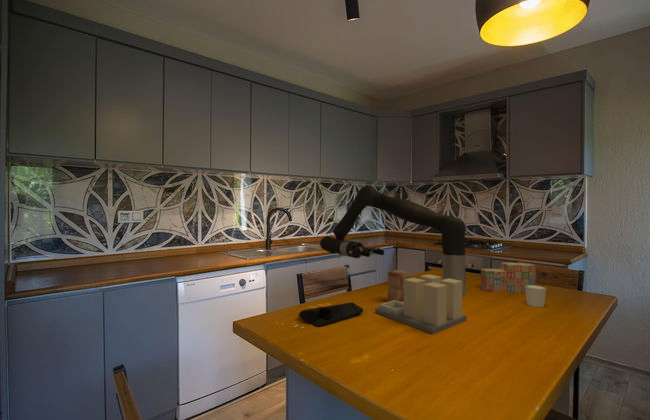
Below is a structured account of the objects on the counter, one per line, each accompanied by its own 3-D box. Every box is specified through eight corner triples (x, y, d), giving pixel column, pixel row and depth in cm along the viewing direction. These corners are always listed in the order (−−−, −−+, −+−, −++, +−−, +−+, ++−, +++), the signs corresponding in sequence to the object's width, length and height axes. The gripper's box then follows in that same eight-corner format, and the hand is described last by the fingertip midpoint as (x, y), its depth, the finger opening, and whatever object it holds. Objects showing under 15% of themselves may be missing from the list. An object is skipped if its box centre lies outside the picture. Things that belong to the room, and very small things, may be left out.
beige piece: (527, 306, 123) (527, 288, 123) (523, 301, 130) (523, 284, 130) (548, 308, 121) (548, 289, 121) (543, 303, 127) (543, 285, 127)
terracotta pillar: (396, 299, 133) (396, 270, 133) (406, 302, 129) (406, 272, 129) (388, 301, 130) (388, 271, 130) (397, 304, 126) (397, 273, 126)
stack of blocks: (485, 291, 144) (486, 264, 144) (480, 288, 151) (480, 261, 150) (536, 292, 143) (536, 265, 142) (528, 289, 149) (528, 262, 149)
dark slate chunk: (369, 317, 113) (369, 304, 112) (314, 330, 102) (314, 315, 101) (345, 305, 126) (345, 293, 126) (294, 315, 115) (293, 302, 115)
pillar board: (409, 302, 128) (409, 269, 127) (466, 320, 108) (466, 280, 108) (375, 312, 116) (375, 275, 116) (432, 334, 97) (432, 289, 97)
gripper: (339, 242, 147) (364, 246, 134) (362, 240, 155) (388, 243, 142) (339, 258, 147) (364, 264, 134) (362, 255, 155) (387, 260, 142)
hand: (376, 253), depth 138 cm, fingers open, 8 cm apart
